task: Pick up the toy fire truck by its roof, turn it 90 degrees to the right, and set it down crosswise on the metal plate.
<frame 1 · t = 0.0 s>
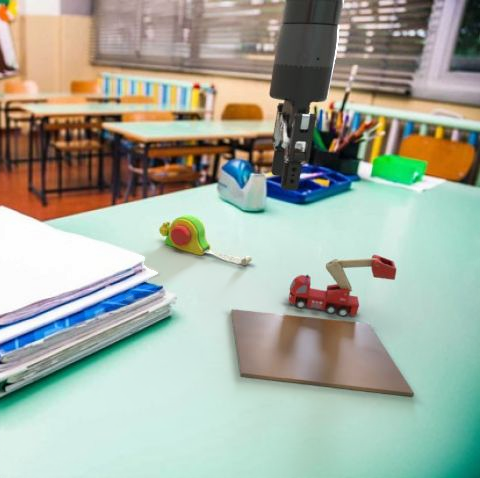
hand: (283, 182, 71), 20 cm above the table, tool pointing down, fingers open, 8 cm apart
toy measuring tape: (201, 253, 97), on the table
metal plate: (310, 348, 66), on the table
toy fire truck: (332, 311, 77), on the table
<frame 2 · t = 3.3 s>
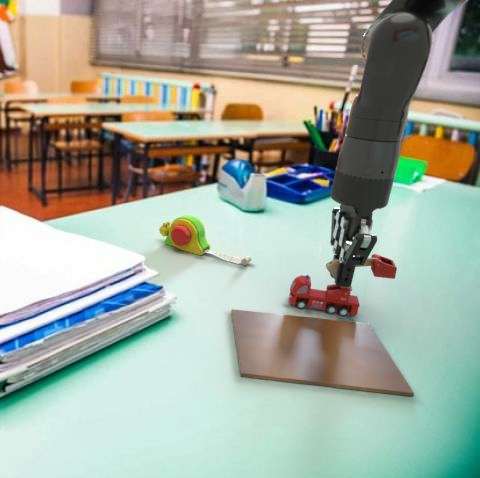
hand: (339, 281, 75), 5 cm above the table, tool pointing down, fingers closed on toy fire truck, 2 cm apart
toy fire truck: (332, 311, 77), on the table, touching gripper
everything else where it was.
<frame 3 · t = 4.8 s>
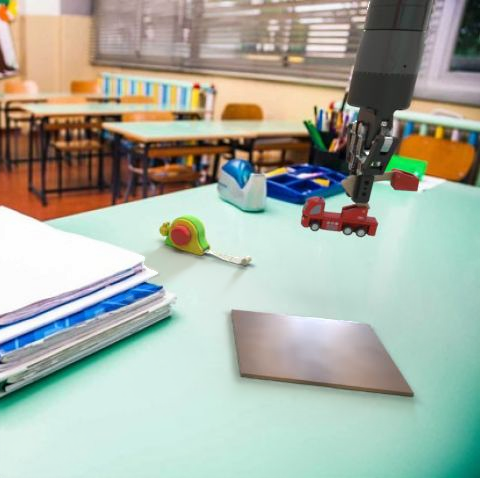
hand: (356, 199, 69), 18 cm above the table, tool pointing down, fingers closed on toy fire truck
toy fire truck: (348, 233, 71), point 13 cm above the table, touching gripper
everything else where it was.
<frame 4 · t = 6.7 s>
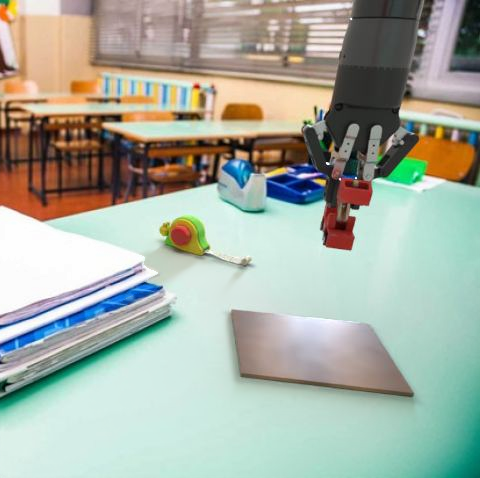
hand: (342, 206, 63), 19 cm above the table, tool pointing down, fingers closed on toy fire truck
toy fire truck: (334, 245, 65), point 14 cm above the table, touching gripper
everything else where it was.
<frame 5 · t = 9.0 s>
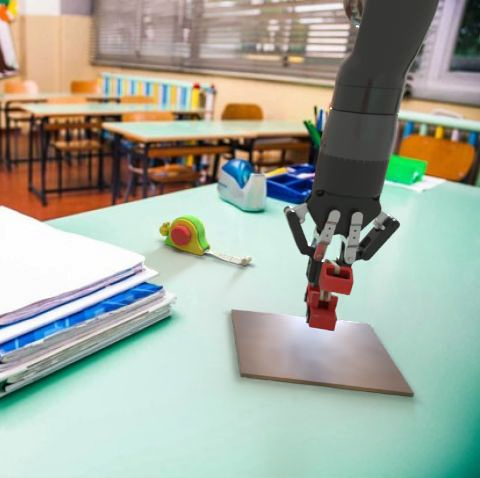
hand: (325, 285, 63), 10 cm above the table, tool pointing down, fingers closed on toy fire truck
toy fire truck: (318, 321, 65), point 4 cm above the table, touching gripper
everything else where it was.
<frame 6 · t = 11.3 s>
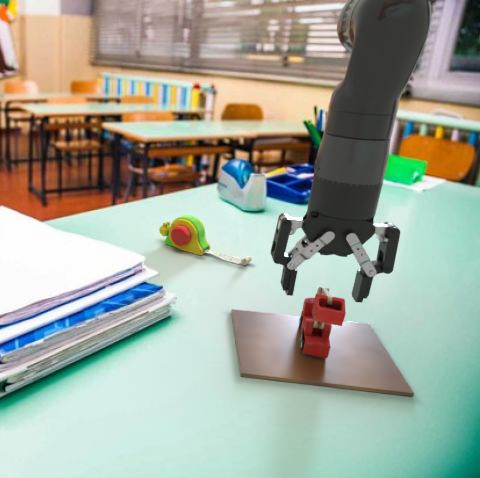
hand: (322, 296, 64), 8 cm above the table, tool pointing down, fingers open, 8 cm apart
toy fire truck: (312, 347, 66), resting on metal plate
everything else where it was.
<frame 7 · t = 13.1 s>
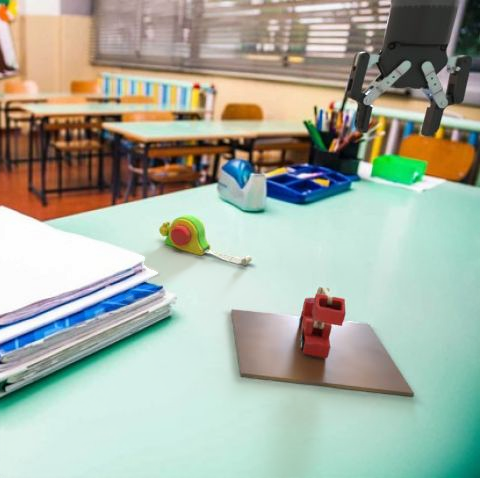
hand: (394, 134, 68), 27 cm above the table, tool pointing down, fingers open, 8 cm apart
nothing on the table moved.
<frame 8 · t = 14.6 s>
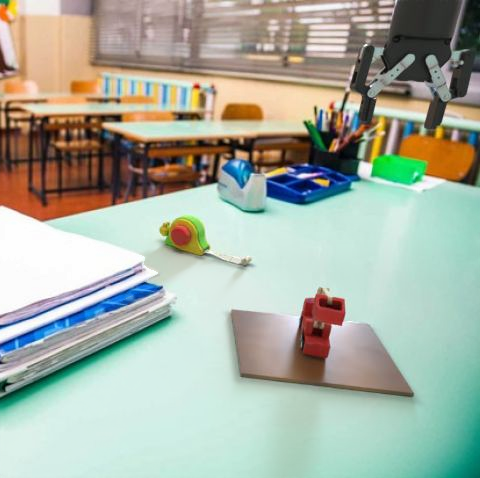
hand: (397, 126, 69), 28 cm above the table, tool pointing down, fingers open, 8 cm apart
nothing on the table moved.
at the end: toy fire truck inside the target area on the metal plate (0.2 cm from its centre), point 0.3 cm above the metal plate's base; toy fire truck tilted 0°; the gripper is holding nothing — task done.
